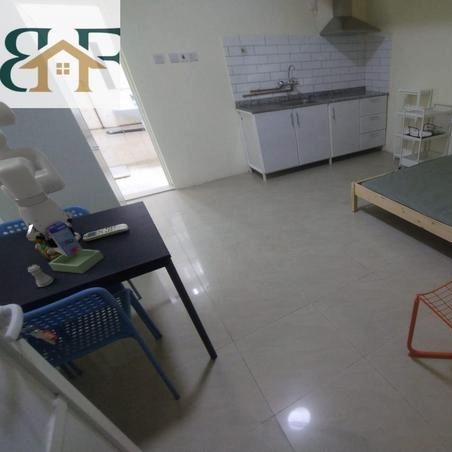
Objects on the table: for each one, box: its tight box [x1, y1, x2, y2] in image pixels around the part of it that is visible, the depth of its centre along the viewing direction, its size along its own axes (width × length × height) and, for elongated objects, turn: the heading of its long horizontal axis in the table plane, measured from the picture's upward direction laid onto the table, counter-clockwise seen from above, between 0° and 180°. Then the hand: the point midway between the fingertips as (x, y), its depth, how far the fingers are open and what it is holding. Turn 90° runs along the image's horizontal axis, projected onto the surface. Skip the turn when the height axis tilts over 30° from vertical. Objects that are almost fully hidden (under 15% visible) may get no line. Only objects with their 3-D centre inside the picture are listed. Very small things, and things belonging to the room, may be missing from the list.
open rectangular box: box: [48, 248, 105, 274], centre depth 110 cm, size 14×10×4 cm
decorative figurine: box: [25, 226, 62, 261], centre depth 113 cm, size 10×8×15 cm
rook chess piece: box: [27, 264, 54, 288], centre depth 100 cm, size 4×4×8 cm
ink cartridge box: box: [46, 221, 84, 256], centre depth 103 cm, size 10×6×14 cm, turn 64°
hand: (63, 241), depth 105 cm, fingers closed on ink cartridge box, 6 cm apart
